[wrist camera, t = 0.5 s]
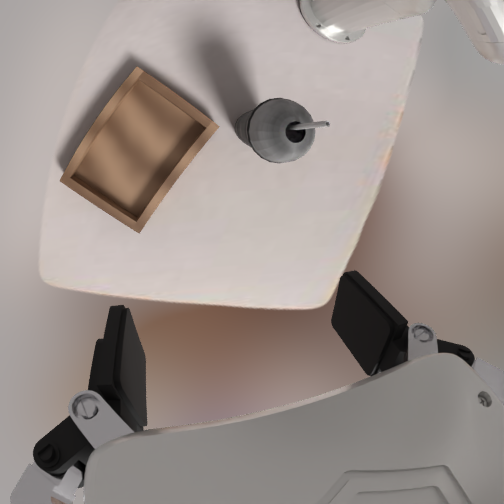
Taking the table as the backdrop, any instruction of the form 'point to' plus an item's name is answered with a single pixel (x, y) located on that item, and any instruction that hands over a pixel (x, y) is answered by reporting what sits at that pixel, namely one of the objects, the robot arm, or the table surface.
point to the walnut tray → (137, 149)
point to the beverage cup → (278, 130)
